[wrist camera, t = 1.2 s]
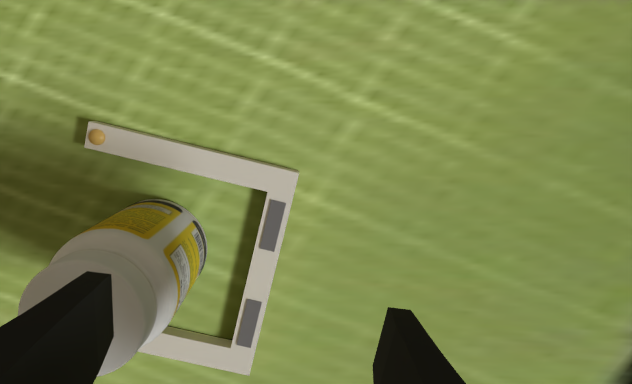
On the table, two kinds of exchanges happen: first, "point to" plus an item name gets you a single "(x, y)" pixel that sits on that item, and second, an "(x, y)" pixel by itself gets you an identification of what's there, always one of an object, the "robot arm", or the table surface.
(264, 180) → the dock
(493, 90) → the table surface
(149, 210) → the supplement bottle
